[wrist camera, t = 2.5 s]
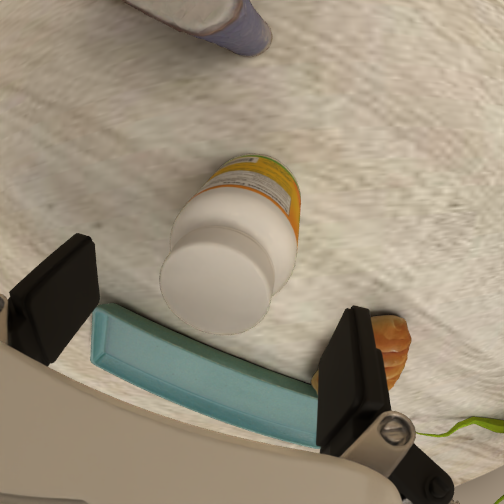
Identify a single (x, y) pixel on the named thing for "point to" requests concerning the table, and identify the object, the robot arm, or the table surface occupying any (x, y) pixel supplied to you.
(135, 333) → the teal serving tray
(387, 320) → the pastry
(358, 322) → the robot arm
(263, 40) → the flask
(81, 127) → the table surface
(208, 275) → the supplement bottle
